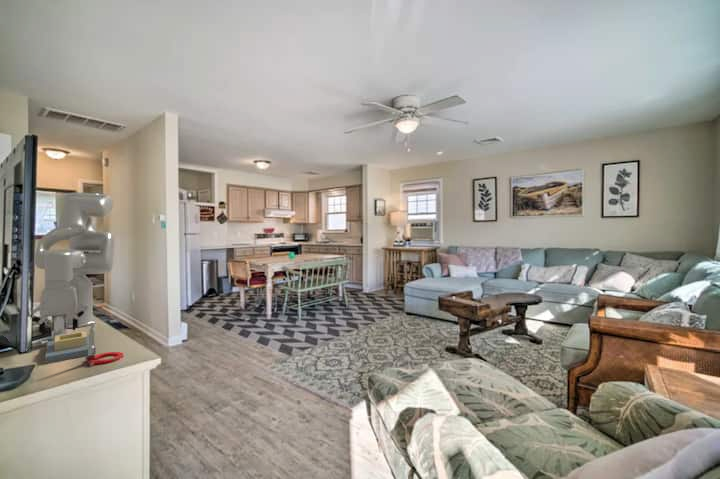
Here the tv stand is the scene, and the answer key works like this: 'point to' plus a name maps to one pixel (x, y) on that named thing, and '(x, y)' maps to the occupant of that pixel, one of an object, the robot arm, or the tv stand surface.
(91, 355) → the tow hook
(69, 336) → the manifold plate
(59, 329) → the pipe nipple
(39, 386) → the tv stand surface
